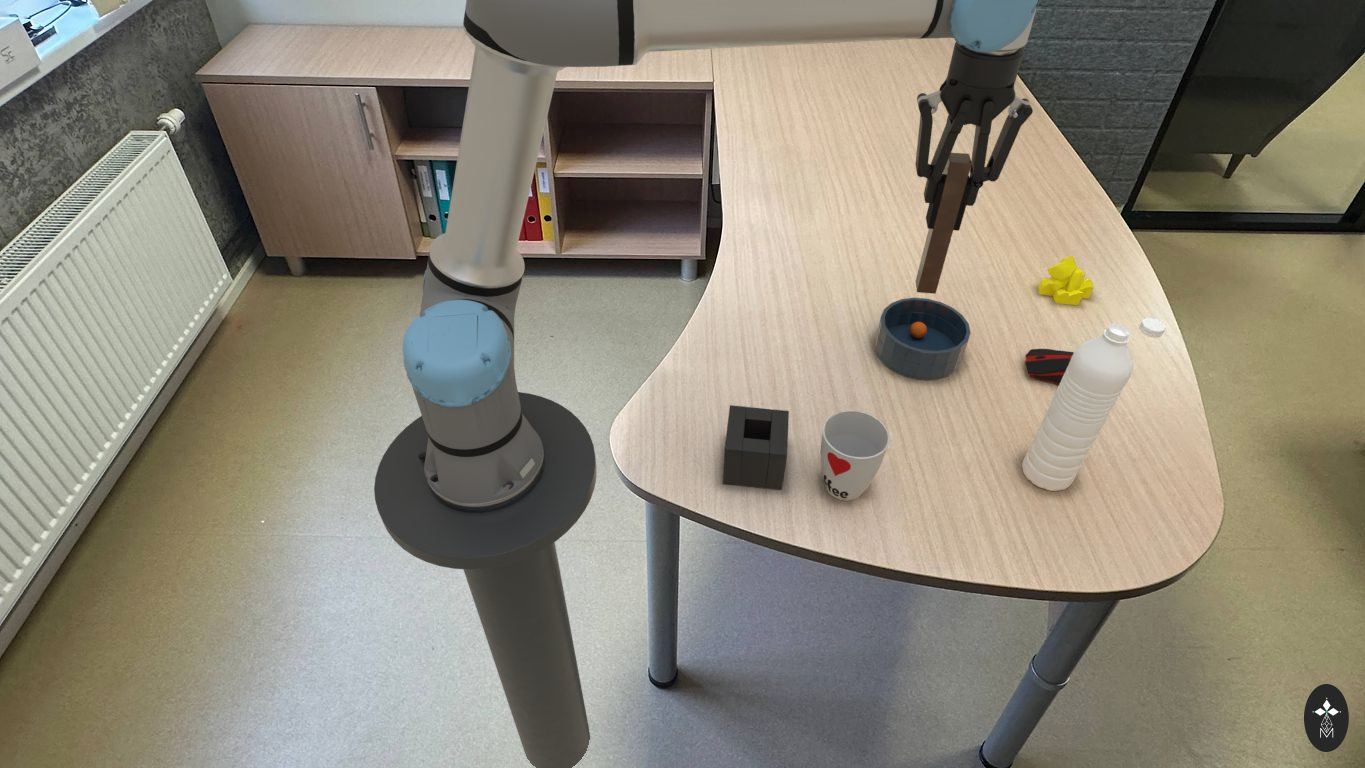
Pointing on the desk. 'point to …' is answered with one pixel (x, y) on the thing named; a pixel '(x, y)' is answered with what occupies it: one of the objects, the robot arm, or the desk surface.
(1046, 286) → the crumpled paper
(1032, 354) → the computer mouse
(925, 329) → the bead
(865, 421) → the cup
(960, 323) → the bowl
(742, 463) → the holder
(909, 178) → the desk surface
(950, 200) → the stick
